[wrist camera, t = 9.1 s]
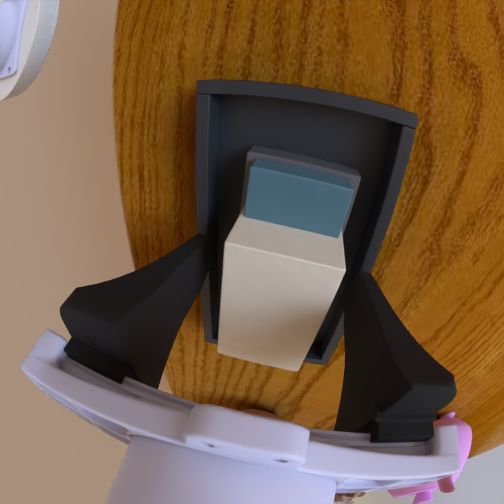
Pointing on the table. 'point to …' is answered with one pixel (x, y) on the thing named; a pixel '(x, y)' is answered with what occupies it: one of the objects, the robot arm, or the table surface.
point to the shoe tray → (304, 143)
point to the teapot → (446, 483)
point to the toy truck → (284, 256)
